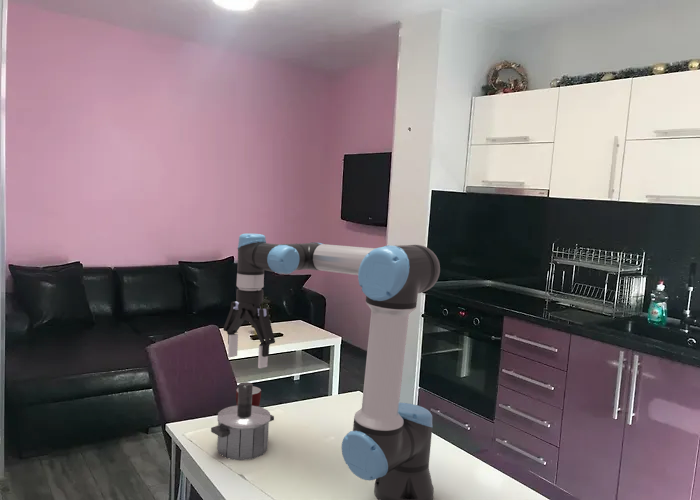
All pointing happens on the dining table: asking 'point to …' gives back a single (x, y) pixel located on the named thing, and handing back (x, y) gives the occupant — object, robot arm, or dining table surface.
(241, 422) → the lid
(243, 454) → the pot
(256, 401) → the mug
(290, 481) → the dining table surface
